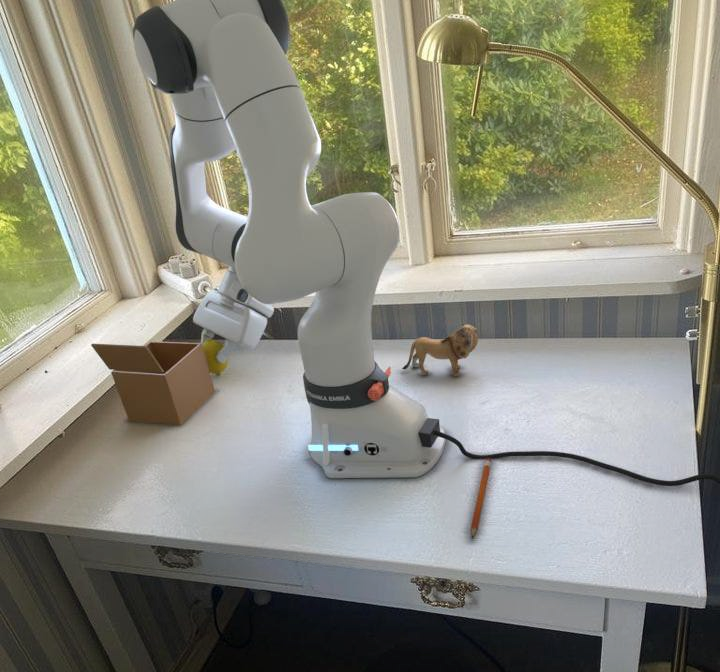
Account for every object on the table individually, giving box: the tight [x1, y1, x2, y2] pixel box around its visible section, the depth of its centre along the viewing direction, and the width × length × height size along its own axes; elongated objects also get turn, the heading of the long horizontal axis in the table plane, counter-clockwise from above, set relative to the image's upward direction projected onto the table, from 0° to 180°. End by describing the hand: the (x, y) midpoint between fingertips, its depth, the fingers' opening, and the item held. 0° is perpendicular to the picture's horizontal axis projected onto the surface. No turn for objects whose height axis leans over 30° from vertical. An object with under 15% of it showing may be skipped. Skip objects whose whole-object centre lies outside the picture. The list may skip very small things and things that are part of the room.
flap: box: [90, 343, 164, 373], centre depth 128 cm, size 12×6×1 cm
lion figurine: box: [401, 324, 479, 377], centre depth 136 cm, size 15×5×9 cm, turn 79°
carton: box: [110, 340, 216, 426], centre depth 138 cm, size 12×13×10 cm
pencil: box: [470, 458, 492, 539], centre depth 105 cm, size 1×19×1 cm, turn 165°
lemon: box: [202, 338, 229, 376], centre depth 148 cm, size 6×6×8 cm
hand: (210, 356), depth 147 cm, fingers closed on lemon, 5 cm apart
